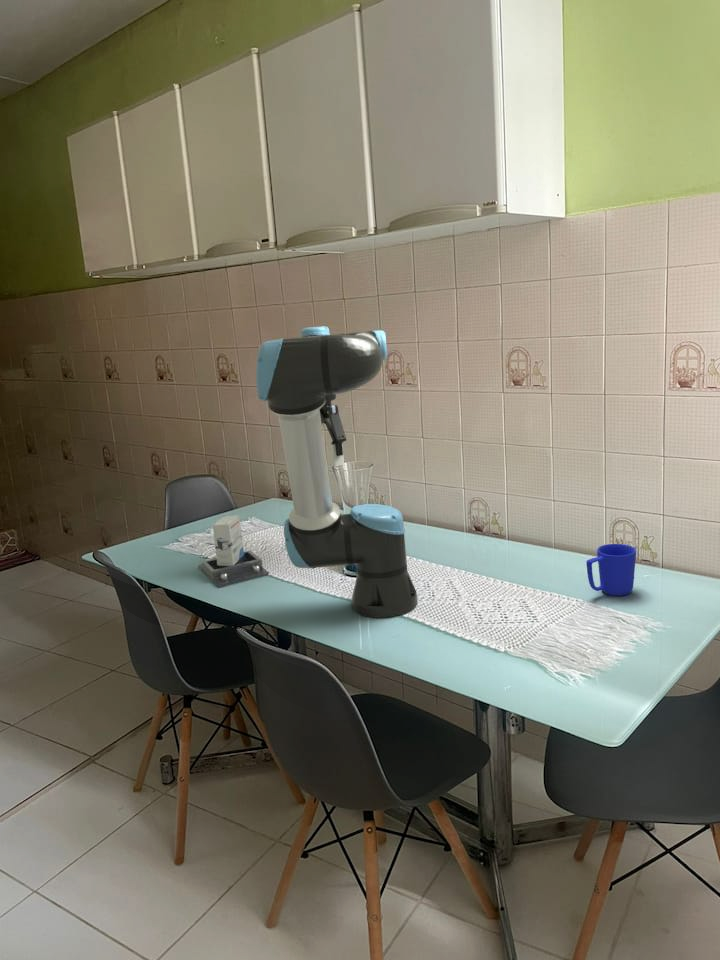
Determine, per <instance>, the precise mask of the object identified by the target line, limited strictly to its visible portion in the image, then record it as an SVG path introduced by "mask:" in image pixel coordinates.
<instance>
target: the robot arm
mask: <svg viewBox="0 0 720 960" xmlns="http://www.w3.org/2000/svg"><path fill="white" fill-rule="evenodd" d="M300 335H301V337H293V338H292V337H291V338H283V337H281V338H280V339H273V340H268V341H265V342H263V343H261V344H260V346H259V349H258V352H257V357H256V374H255V375H256V394H257V396H258V399H259V401H263V402H267V403H268V408H269V410H270V412H271V413H272V414H274V415H276V416H278V417H277V418H278V423H279V429H280V434H281V440H282V444H283V445H282V447H283V452H284V456H285V464H286V468H287V469H286V470H287V476H288V480H289V481H288V482H289V486H290V492H291V498H292V504H293V508H292V509H291V511H290V512H289V515H288V518H287V519H286V520H285V521H284V524H283V537H284V541H285V547H286V553H287V556H288V557H289V560H290V562H291V564H293V566H294V567H296V568H299V569H317V568H327V567H328V568H329V567H331V568H332V567H341V566H342V567H344V566H354V565H355V568H356V578H355V583H354V588H353V591H352V595H351V605H352V609H353V611H354V612H356V613H357V614H359V615H360V616H364V617H368V618H391V617H396V616H400V615H403V614H406V613H409V612H410V611H412V610H414V609H415V608H416V606H417V605H418V592H417V590H416V588H415V585H414V582H413V580H412V578H411V575H410V573H409V572H408V571H409V570H408V560H407V549H406V539H405V538H406V537H405V533H406V528H405V523H404V517H403V514H402V513H401V511H400V510H399V509H398V508H395V507H393V506H390V505H385V504H379V503H364V504H360V505H359V504H357V505H355V506H353V507H352V508H351V510H350V513H346V514H345V513H344V514H342V513H341V508H340V506H338V504H337V503H335V502H333V497H332V490H331V489H332V488H331V484H330V483H331V482H330V476H329V467H328V461H327V455H326V454H327V453H326V447H325V438H324V432H323V424H325V426H326V428H327V430H328V434H329V435H330V438H331V440H332V441H331V443H330V444H331V450H332V458H333V459H332V460H333V468H334V469H339V468H338V467H337V468H336V467H334V466H339V465H344V466H345V458H344V456H345V455H344V447H343V443H344V442H346V441H347V437H346V433H345V430H344V426H343V423H342V420H341V417H340V413H339V406H338V405H337V404H334V405H332V401H335V400H336V398H337V395H338V394H339V395H340V394H344V393H348V392H351V391H353V390H356V389H359V388H360V387H362V386H364V385H367V384H368V383H369V382H371V381H372V380H374V379H375V378H376V377H377V376H378V374H379V373H380V371H381V368H382V367H383V361H385V360H387V358H388V351H387V350H388V349H387V338H386V337H387V335H386V332H385V331H384V330H373V329H372V330H367V331H358V332H357V331H356V332H347V333H345V332H344V333H334V334H333V333H332V334H330V329H329V327H328V326H325V325H323V326H322V325H321V326H311V327H304V328H302V329H301V331H300Z"/></svg>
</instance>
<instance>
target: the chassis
mask: <svg viewBox="0 0 720 960" xmlns="http://www.w3.org/2000/svg"><path fill="white" fill-rule="evenodd" d="M197 566H198V568H199V569H200V570H201V571H202V572H203V573H204V574H205V576H207V577H208V578H209V580H211V582H212V583H213V584H214V585H215V586H216V587H217V588H218V589H219V588H224V587H228V586H231V585H235V584H239V583H243V582H247V581H252V580H256V579H259V578H262V577H266V576H269V575H270V572H269V571H268V570H267V569H265V568H264V567H263V560H262V558H260V557H259V556H258V555H257V554H256V553H254V552H253V551H251V549H250V550H246V551H245V550H244V556H243V557H242V558H241V559H240V560H239V561H238V562H236V563H235V564H234V565H233V566H219V565H217V557H216V558H211V557H210V558H206V559H205V560H203V561H201V563H198V565H197ZM268 574H269V575H268Z"/></svg>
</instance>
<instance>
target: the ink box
mask: <svg viewBox="0 0 720 960" xmlns="http://www.w3.org/2000/svg"><path fill="white" fill-rule="evenodd" d="M240 518H241V517H240V515H223V516H222V517H221V518H219V519H218V520H217V521H216V522H215V523H213V524H212V529H213V539H214V546H215V547H214V548H215V556H216V558H217V565H219V566H233V565H234V564H235V563H236V562H238V561H239V560H240V559H241V558H242V557H243V556H244V552H245V550H244V543H243V536H242V526H241V519H240Z"/></svg>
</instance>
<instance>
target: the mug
mask: <svg viewBox="0 0 720 960" xmlns="http://www.w3.org/2000/svg"><path fill="white" fill-rule="evenodd" d="M596 553H597V556H595V557H592V558H590V559H588V560H586V570H587V573H586V574H587V580H588V583H589V587H591V589H592V590H594V591H597V592H598V591H603V593H605V594H606V595H609V596H615V597H617V596H619V597H622V596H626V595H629V594H631V592H632V591H633V588H634V582H635V581H634V579H635V572H636V571H635V569H636V559H637V558H636V557H637V550H636V548H635V547H633V546H632V545H628V544H624V543H623V544H622V543H608V544H603V545H600V546H599V547H598V548H597V549H596ZM596 562H597V563H598V564H597V565H598V574H599V583H600V584H599V586H596V585H595V581H594V575H593V564H595V563H596Z"/></svg>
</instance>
